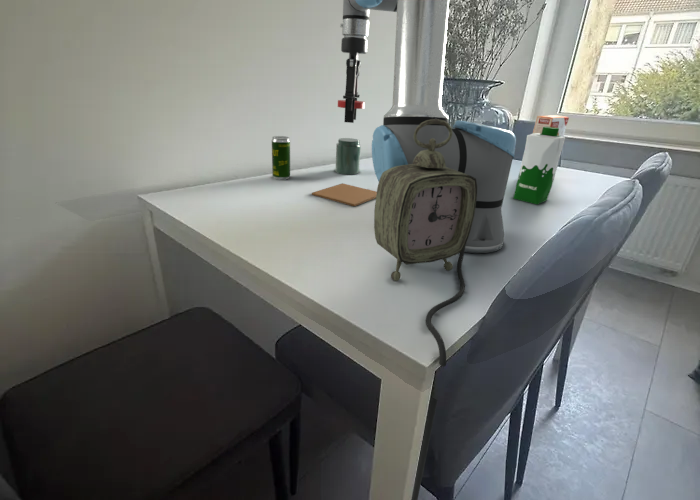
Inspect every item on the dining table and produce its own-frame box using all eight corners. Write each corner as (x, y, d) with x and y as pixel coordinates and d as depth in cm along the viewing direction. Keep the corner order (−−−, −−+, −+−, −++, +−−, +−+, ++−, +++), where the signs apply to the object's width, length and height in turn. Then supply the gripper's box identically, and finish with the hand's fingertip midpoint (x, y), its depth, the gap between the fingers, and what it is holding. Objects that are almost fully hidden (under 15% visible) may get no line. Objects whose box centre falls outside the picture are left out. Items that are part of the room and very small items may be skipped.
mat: (354, 206, 98) (354, 204, 97) (311, 194, 105) (311, 192, 104) (382, 195, 108) (383, 193, 108) (342, 185, 115) (342, 183, 115)
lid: (344, 108, 114) (344, 101, 113) (332, 105, 120) (333, 99, 120) (369, 109, 117) (369, 102, 117) (356, 106, 124) (357, 100, 123)
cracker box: (537, 180, 135) (553, 117, 127) (520, 176, 139) (535, 115, 131) (553, 175, 144) (570, 116, 135) (537, 172, 148) (552, 114, 139)
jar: (350, 175, 126) (351, 142, 122) (330, 171, 130) (331, 139, 126) (363, 172, 132) (365, 140, 128) (344, 167, 136) (346, 137, 132)
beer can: (283, 174, 123) (283, 135, 118) (293, 178, 119) (293, 138, 114) (269, 176, 119) (267, 136, 114) (278, 180, 116) (278, 139, 111)
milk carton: (551, 200, 113) (571, 129, 105) (539, 206, 107) (559, 131, 99) (521, 193, 118) (538, 125, 110) (508, 198, 112) (525, 126, 104)
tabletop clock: (390, 288, 61) (410, 122, 51) (364, 263, 69) (376, 114, 58) (462, 273, 67) (492, 123, 57) (431, 252, 75) (452, 115, 64)
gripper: (345, 40, 121) (342, 116, 130) (337, 33, 102) (333, 123, 111) (369, 41, 121) (364, 118, 130) (365, 34, 101) (360, 125, 111)
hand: (350, 120), depth 120 cm, fingers closed on lid, 8 cm apart
